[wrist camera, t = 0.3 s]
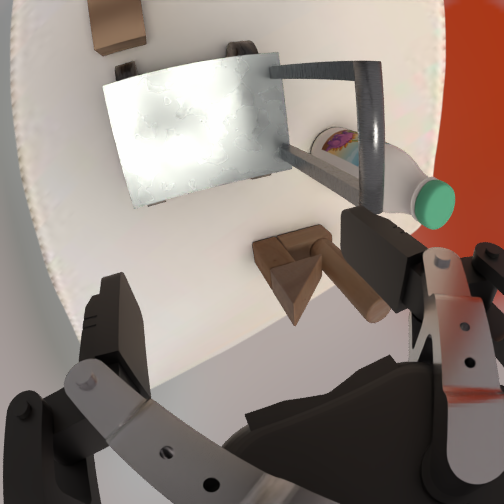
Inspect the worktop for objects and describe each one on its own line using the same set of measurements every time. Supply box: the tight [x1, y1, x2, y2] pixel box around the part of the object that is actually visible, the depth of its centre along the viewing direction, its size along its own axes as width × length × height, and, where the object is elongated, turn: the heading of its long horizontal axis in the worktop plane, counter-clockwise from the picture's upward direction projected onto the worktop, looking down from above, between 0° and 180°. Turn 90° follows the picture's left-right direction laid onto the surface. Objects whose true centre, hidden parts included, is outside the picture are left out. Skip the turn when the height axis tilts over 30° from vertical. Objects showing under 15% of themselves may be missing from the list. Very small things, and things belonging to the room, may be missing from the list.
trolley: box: [103, 40, 385, 215], centre depth 24 cm, size 16×16×23 cm
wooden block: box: [253, 225, 391, 326], centre depth 39 cm, size 4×11×18 cm, turn 98°
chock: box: [87, 0, 146, 56], centre depth 23 cm, size 8×5×6 cm, turn 9°
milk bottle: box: [311, 127, 455, 229], centre depth 33 cm, size 8×8×20 cm
